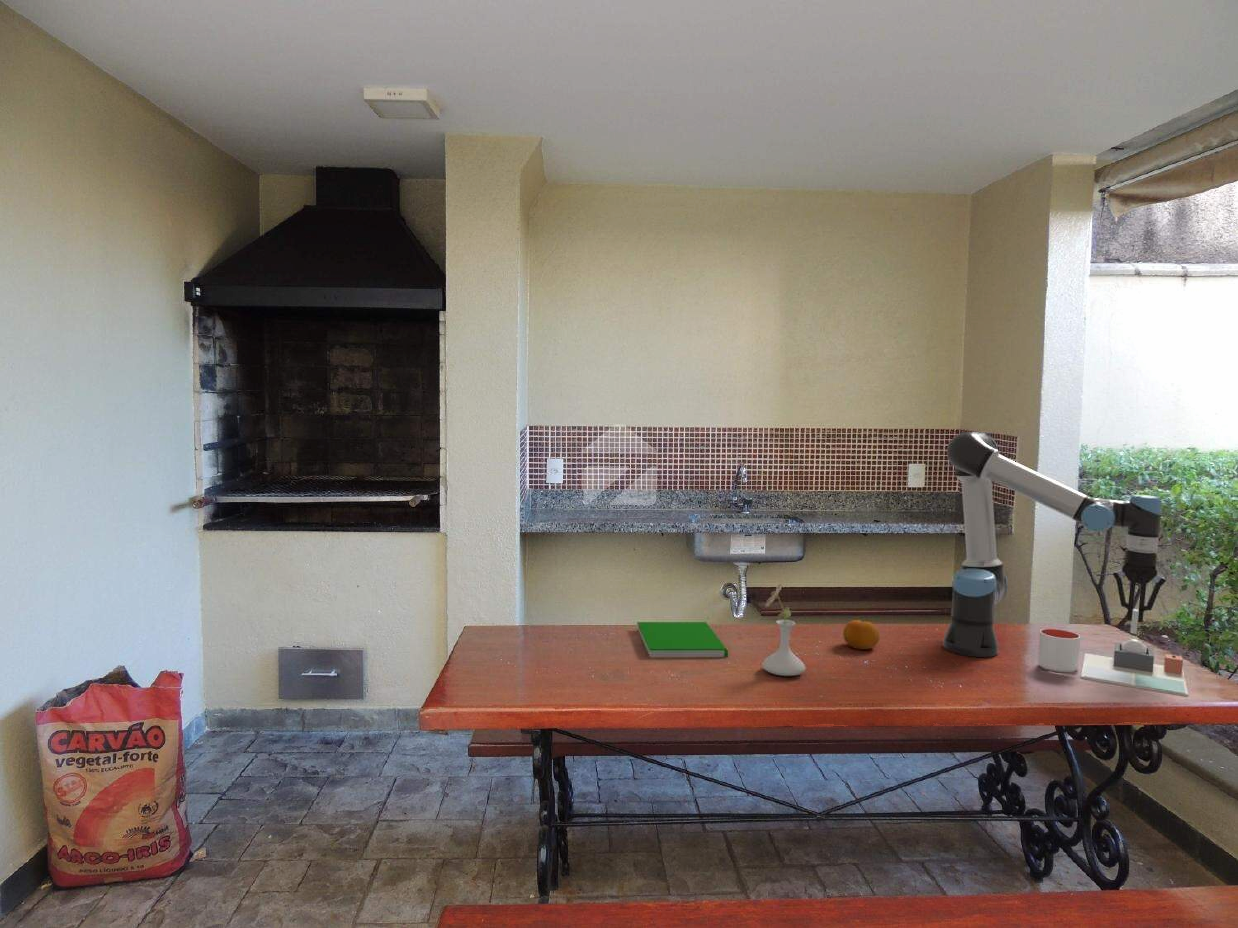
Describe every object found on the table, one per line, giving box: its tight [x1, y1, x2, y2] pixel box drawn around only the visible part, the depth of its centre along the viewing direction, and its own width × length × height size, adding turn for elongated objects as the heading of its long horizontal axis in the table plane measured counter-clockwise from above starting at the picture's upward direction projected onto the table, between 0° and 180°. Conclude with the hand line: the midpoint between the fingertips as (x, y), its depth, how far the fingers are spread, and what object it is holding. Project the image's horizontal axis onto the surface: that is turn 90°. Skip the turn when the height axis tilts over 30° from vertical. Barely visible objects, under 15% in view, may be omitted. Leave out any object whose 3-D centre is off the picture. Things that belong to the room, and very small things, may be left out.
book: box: [636, 621, 729, 658], centre depth 251 cm, size 22×28×3 cm
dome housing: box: [1113, 642, 1155, 672], centre depth 239 cm, size 9×9×4 cm
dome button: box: [1121, 638, 1147, 654], centre depth 239 cm, size 6×6×6 cm
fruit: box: [842, 619, 880, 650], centre depth 251 cm, size 10×10×8 cm
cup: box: [1037, 628, 1081, 674], centre depth 235 cm, size 10×10×10 cm
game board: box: [1080, 652, 1189, 697], centre depth 232 cm, size 24×25×5 cm
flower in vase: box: [761, 582, 806, 677], centre depth 225 cm, size 13×11×25 cm
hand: (1133, 632), depth 239 cm, fingers closed
